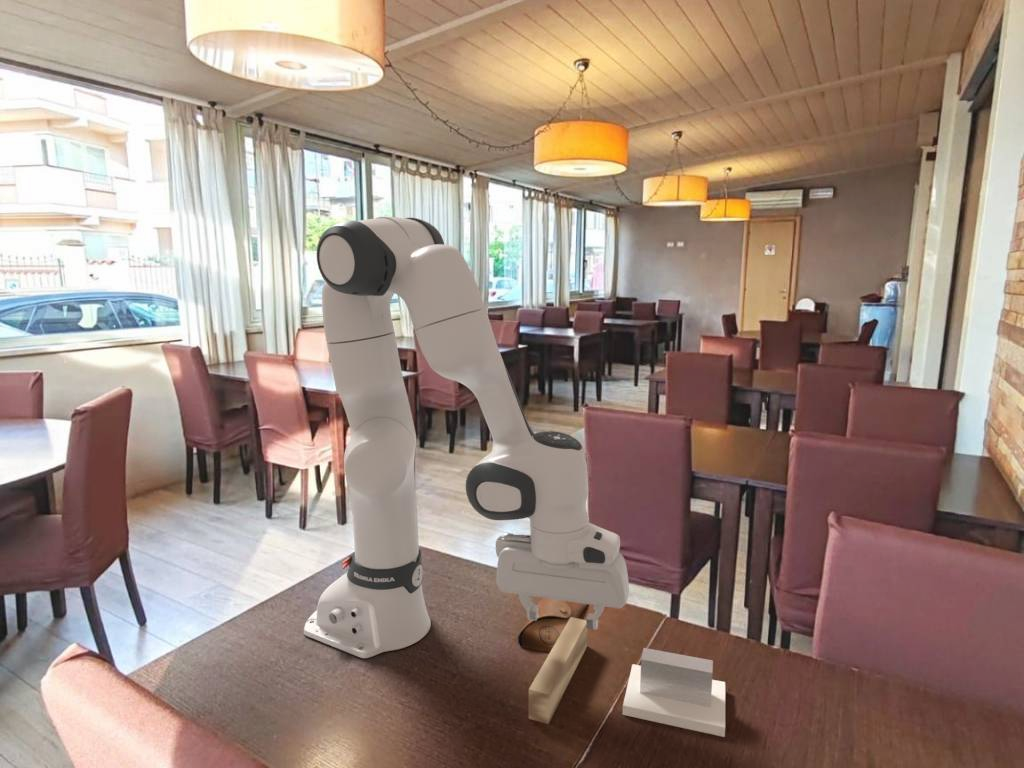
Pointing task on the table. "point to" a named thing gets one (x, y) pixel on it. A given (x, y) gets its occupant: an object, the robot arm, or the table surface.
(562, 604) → the sunglasses case
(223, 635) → the table surface
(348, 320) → the robot arm
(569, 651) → the oak rod
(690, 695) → the ridge stand
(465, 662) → the table surface
